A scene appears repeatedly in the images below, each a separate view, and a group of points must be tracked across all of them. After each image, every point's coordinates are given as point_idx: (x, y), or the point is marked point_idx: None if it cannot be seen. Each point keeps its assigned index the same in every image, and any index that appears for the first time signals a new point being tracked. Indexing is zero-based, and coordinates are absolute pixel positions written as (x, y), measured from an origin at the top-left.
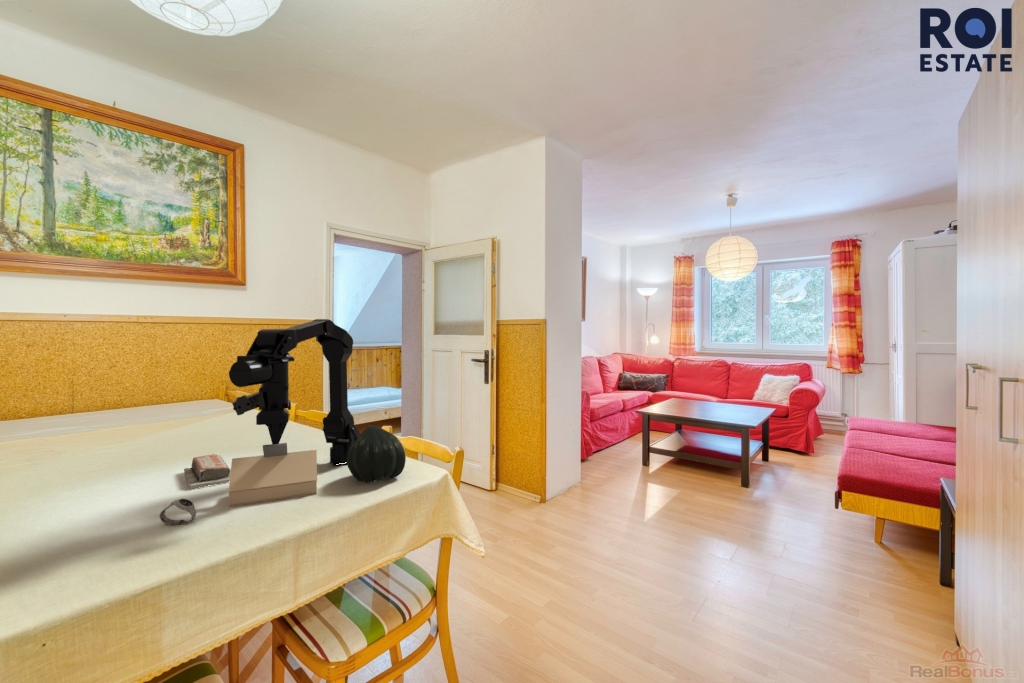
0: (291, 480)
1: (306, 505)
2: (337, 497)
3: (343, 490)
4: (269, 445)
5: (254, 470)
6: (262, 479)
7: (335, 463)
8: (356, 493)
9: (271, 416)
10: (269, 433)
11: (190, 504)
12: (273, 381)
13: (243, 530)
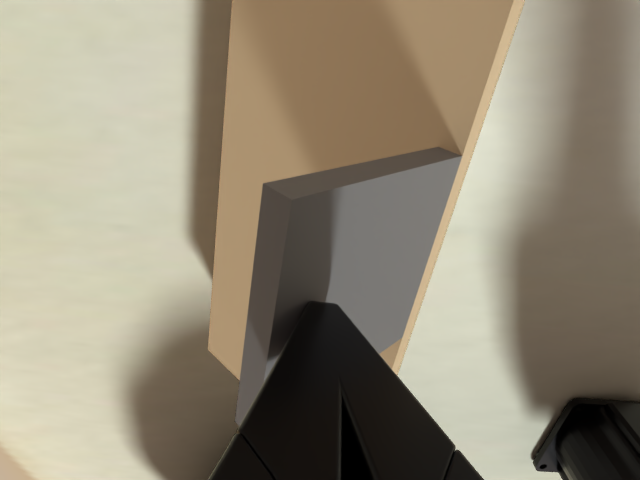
0: (228, 244)
1: (74, 244)
2: (127, 358)
3: (207, 386)
4: (265, 274)
5: (346, 29)
6: (268, 80)
7: (582, 413)
8: (143, 416)
9: None
10: (235, 439)
11: None
12: None
13: None
